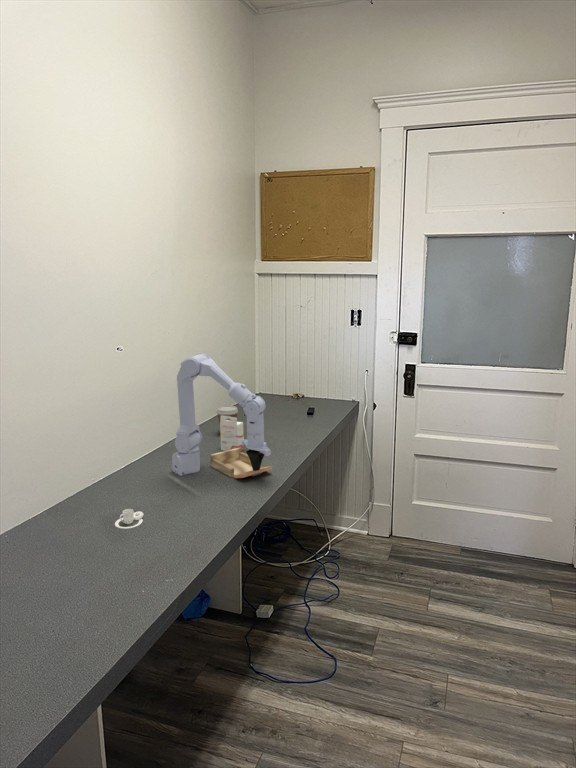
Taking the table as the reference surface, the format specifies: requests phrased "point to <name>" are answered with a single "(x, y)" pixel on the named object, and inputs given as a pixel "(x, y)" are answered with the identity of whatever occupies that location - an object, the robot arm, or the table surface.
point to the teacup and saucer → (130, 518)
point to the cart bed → (231, 462)
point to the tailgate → (253, 472)
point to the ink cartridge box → (231, 433)
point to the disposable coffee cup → (227, 411)
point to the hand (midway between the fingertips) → (256, 470)
